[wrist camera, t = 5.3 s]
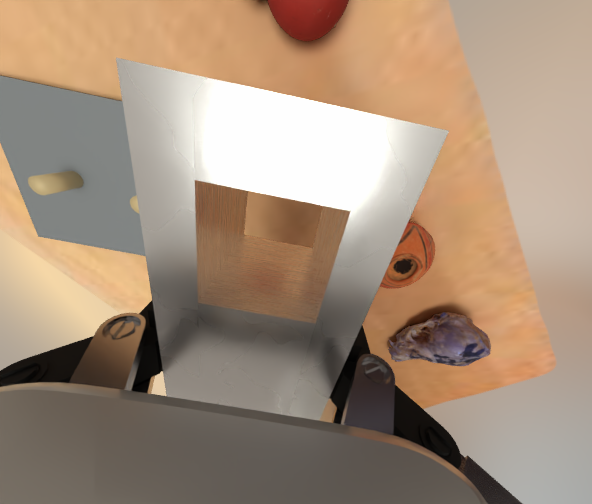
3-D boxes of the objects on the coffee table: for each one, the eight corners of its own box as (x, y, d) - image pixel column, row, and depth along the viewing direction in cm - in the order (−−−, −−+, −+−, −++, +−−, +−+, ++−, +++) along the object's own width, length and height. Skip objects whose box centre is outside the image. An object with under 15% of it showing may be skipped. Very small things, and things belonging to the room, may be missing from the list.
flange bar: (297, 382, 16) (293, 478, 11) (214, 369, 15) (176, 461, 11) (374, 135, 8) (449, 130, 4) (220, 102, 8) (116, 58, 4)
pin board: (224, 263, 29) (209, 286, 24) (51, 231, 28) (2, 249, 23) (230, 124, 21) (209, 120, 17) (-7, 73, 20) (-96, 55, 16)
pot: (439, 223, 24) (468, 266, 19) (392, 267, 29) (405, 309, 24) (379, 194, 23) (393, 231, 18) (340, 244, 28) (343, 285, 23)
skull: (391, 355, 35) (407, 394, 30) (375, 324, 33) (389, 361, 27) (471, 331, 32) (504, 370, 27) (461, 295, 29) (496, 330, 24)
